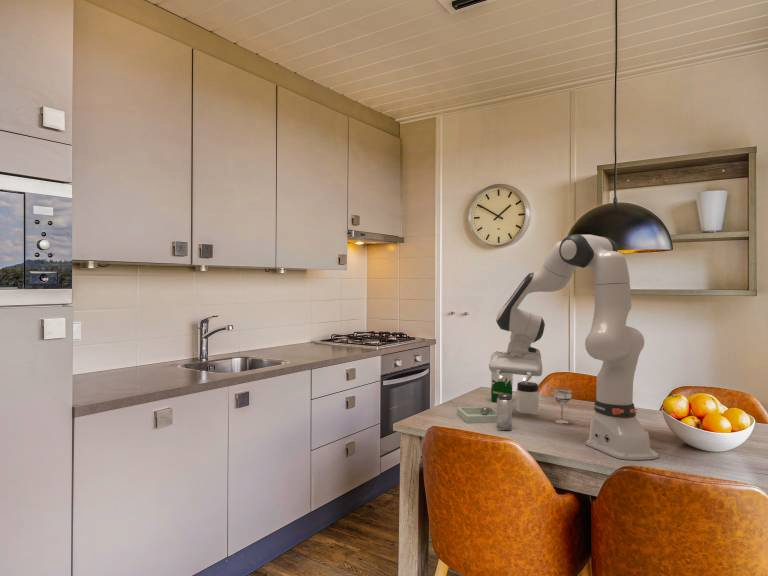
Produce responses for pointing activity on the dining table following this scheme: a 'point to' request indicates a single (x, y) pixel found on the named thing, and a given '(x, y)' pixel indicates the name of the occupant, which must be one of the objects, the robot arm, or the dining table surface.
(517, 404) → the jar
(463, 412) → the tray
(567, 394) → the wineglass
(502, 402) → the shaker
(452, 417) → the dining table surface
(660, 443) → the dining table surface
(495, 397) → the milk carton
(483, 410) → the ball
